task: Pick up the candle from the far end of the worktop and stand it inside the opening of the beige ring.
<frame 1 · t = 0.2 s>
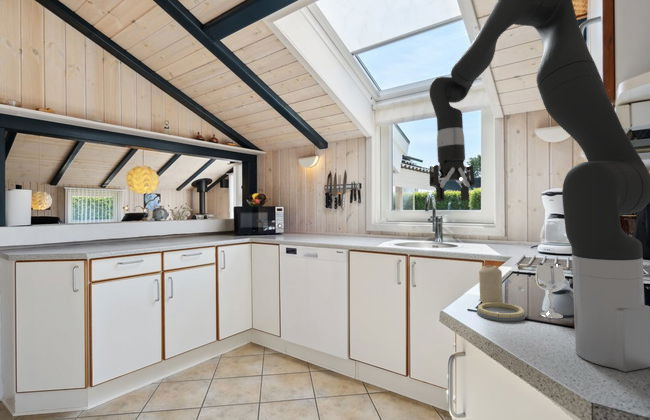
hand: (453, 200, 100), 28 cm above the counter, fingers open, 8 cm apart
beige ring: (500, 314, 82), on the counter
candle: (491, 303, 92), on the counter
wineglass: (551, 316, 80), on the counter
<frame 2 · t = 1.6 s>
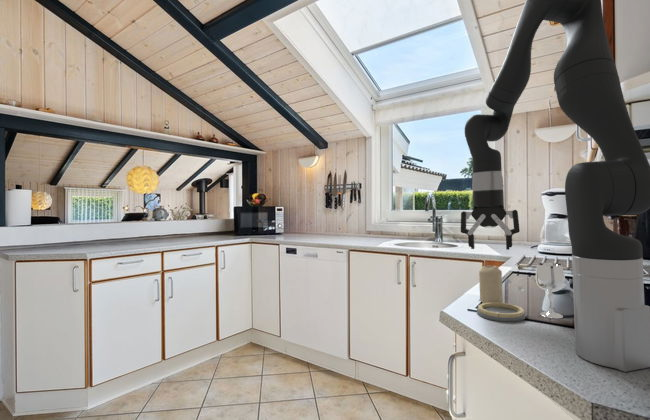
hand: (489, 248, 92), 14 cm above the counter, fingers open, 8 cm apart
nothing on the counter moved.
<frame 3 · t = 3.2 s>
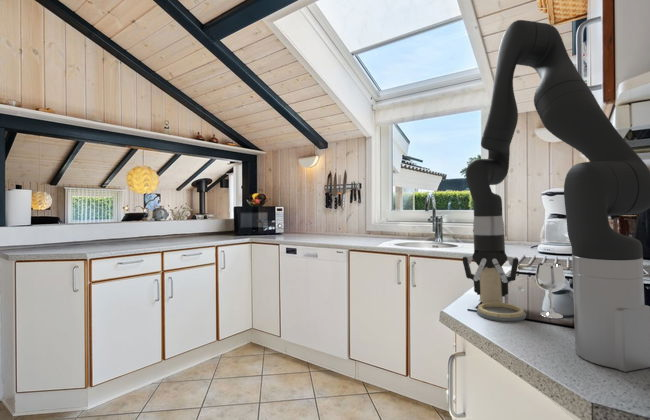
hand: (490, 294, 92), 2 cm above the counter, fingers closed on candle, 5 cm apart
candle: (491, 303, 92), on the counter, touching gripper
everything else where it was.
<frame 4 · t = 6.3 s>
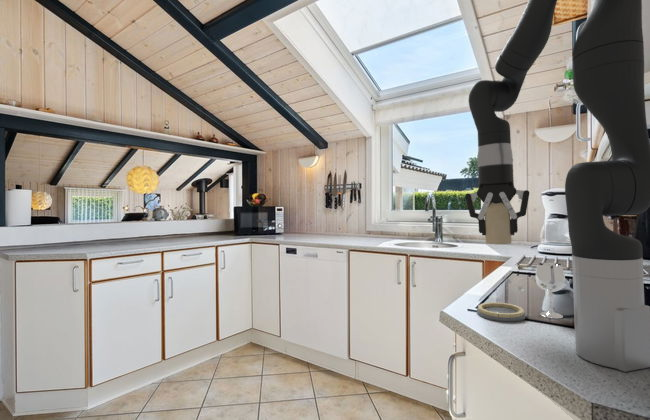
hand: (497, 234, 82), 19 cm above the counter, fingers closed on candle, 5 cm apart
candle: (498, 244, 82), point 17 cm above the counter, touching gripper
everything else where it was.
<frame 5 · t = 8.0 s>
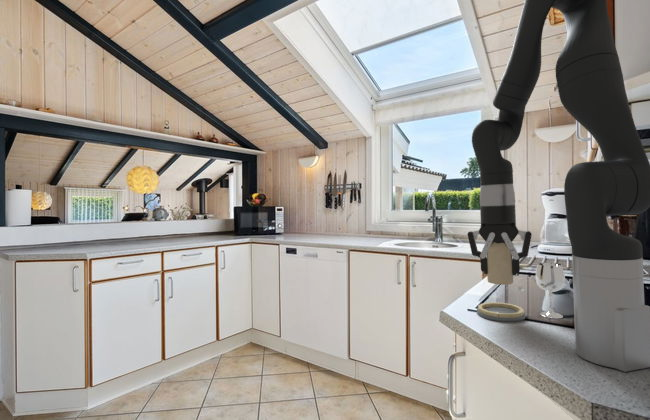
hand: (499, 273, 82), 10 cm above the counter, fingers closed on candle, 5 cm apart
candle: (500, 283, 82), point 8 cm above the counter, touching gripper
everything else where it was.
when the fingers open (4 cm above the counter, at t = 9.6 s): candle drops 2 cm, resting on beige ring.
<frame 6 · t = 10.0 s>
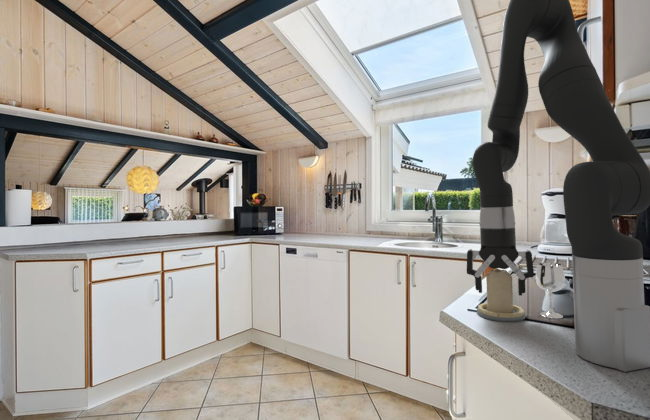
hand: (499, 293, 82), 5 cm above the counter, fingers open, 8 cm apart
candle: (500, 312, 82), point 1 cm above the counter, touching beige ring
everything else where it was.
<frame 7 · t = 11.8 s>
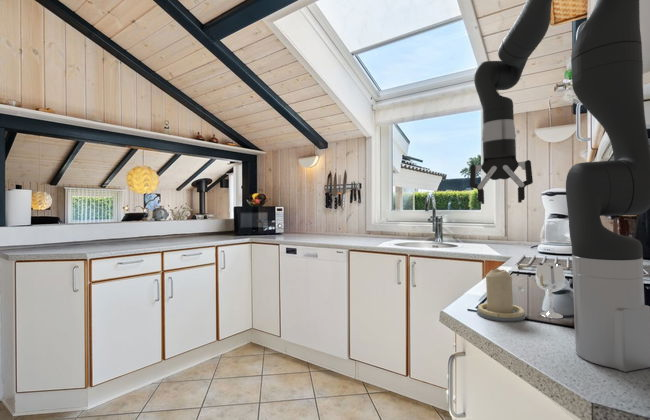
hand: (500, 203, 88), 27 cm above the counter, fingers open, 8 cm apart
nothing on the counter moved.
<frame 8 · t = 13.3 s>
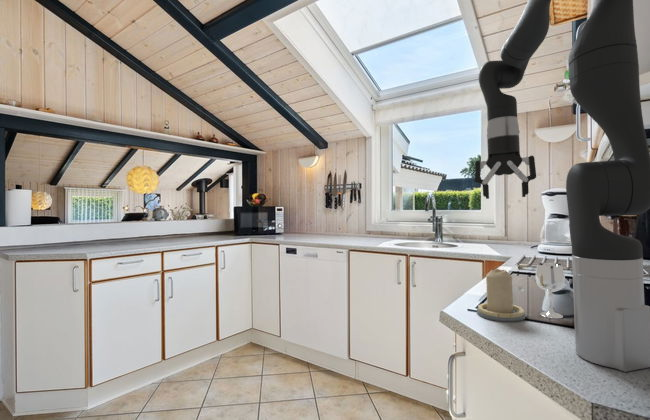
hand: (505, 197, 91), 28 cm above the counter, fingers open, 8 cm apart
nothing on the counter moved.
at the end: candle 0.1 cm off-centre on the beige ring, point 0.6 cm above the beige ring's base; candle tilted 0°; the gripper is holding nothing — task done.
